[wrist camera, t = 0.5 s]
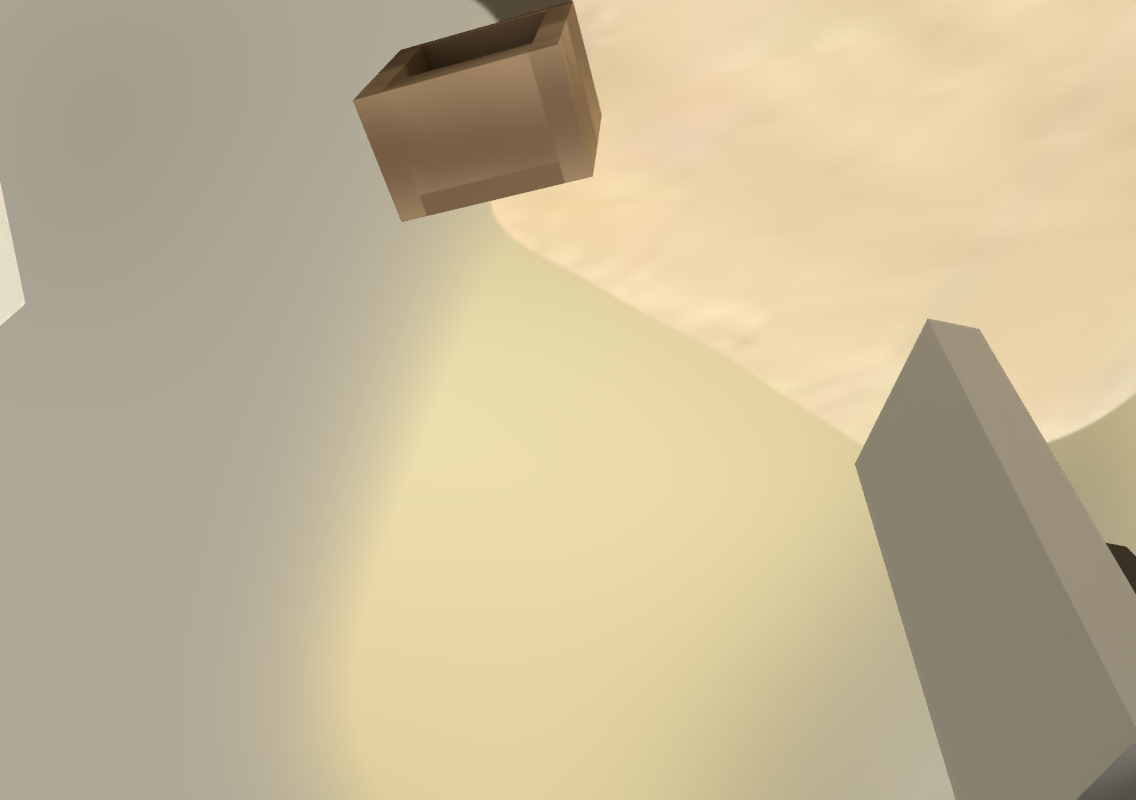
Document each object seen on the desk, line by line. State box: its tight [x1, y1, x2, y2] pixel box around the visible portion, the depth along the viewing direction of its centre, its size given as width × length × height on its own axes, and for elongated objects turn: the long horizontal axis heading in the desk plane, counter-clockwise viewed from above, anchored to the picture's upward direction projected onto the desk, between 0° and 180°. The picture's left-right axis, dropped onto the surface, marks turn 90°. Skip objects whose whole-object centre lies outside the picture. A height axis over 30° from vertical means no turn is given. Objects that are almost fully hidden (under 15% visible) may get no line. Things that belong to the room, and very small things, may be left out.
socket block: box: [353, 1, 601, 222], centre depth 33 cm, size 4×7×7 cm, turn 106°
